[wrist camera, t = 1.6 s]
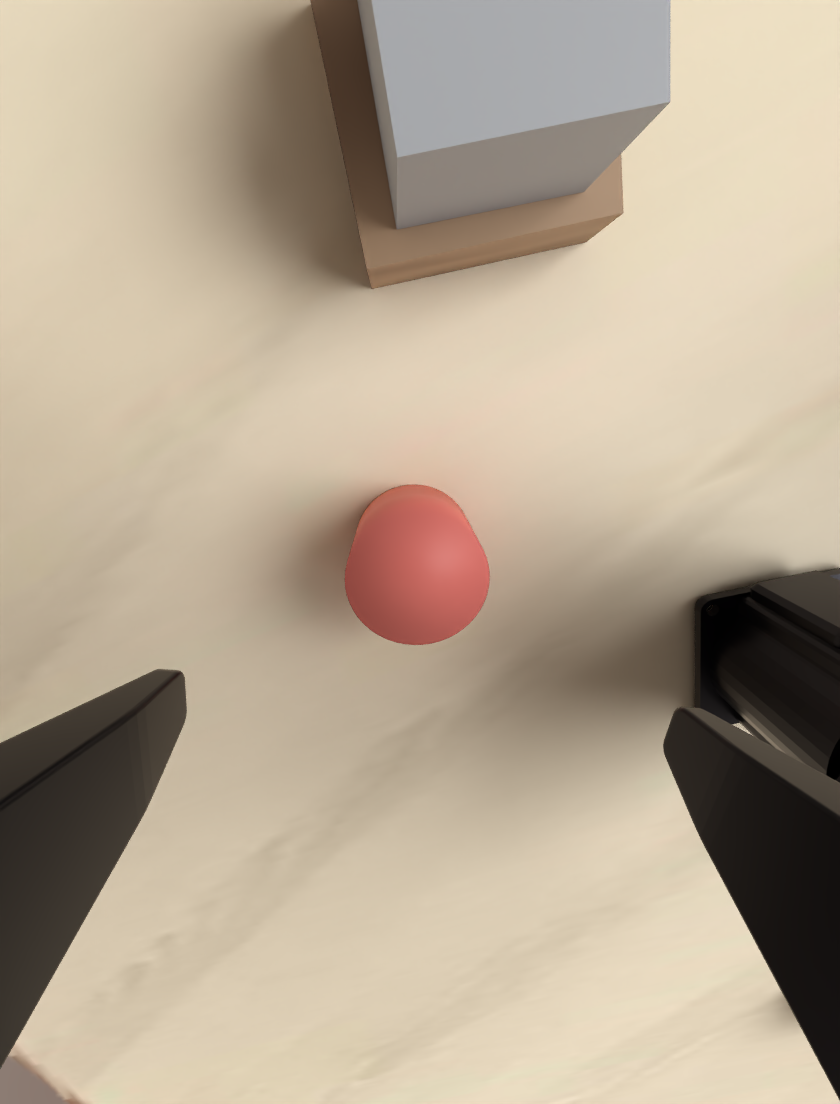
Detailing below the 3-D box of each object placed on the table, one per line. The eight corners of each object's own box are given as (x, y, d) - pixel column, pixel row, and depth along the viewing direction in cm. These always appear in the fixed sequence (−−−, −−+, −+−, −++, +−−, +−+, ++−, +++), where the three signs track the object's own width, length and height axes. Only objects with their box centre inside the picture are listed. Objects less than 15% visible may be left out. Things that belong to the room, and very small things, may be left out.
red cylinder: (478, 580, 18) (499, 629, 15) (371, 602, 19) (364, 656, 15) (459, 473, 17) (477, 496, 13) (343, 497, 17) (328, 528, 13)
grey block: (583, 191, 12) (670, 101, 8) (396, 229, 12) (397, 157, 8) (570, -73, 10) (670, -338, 7) (352, -27, 10) (328, -263, 7)
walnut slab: (581, 246, 15) (623, 212, 12) (372, 291, 15) (367, 269, 12) (561, -44, 13) (607, -167, 10) (314, 14, 13) (291, -91, 10)
